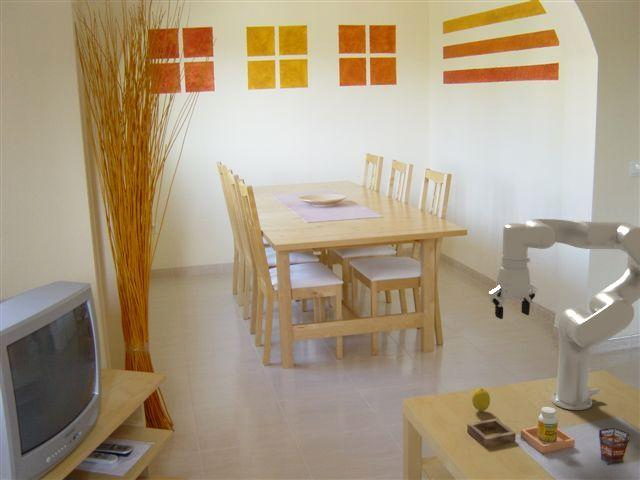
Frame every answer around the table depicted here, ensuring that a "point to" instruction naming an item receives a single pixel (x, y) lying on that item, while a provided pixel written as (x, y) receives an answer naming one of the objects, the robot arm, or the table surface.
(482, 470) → the table surface
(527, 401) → the table surface
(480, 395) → the lemon
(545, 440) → the supplement bottle
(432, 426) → the table surface
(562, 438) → the dish
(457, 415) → the table surface
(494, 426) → the tray
